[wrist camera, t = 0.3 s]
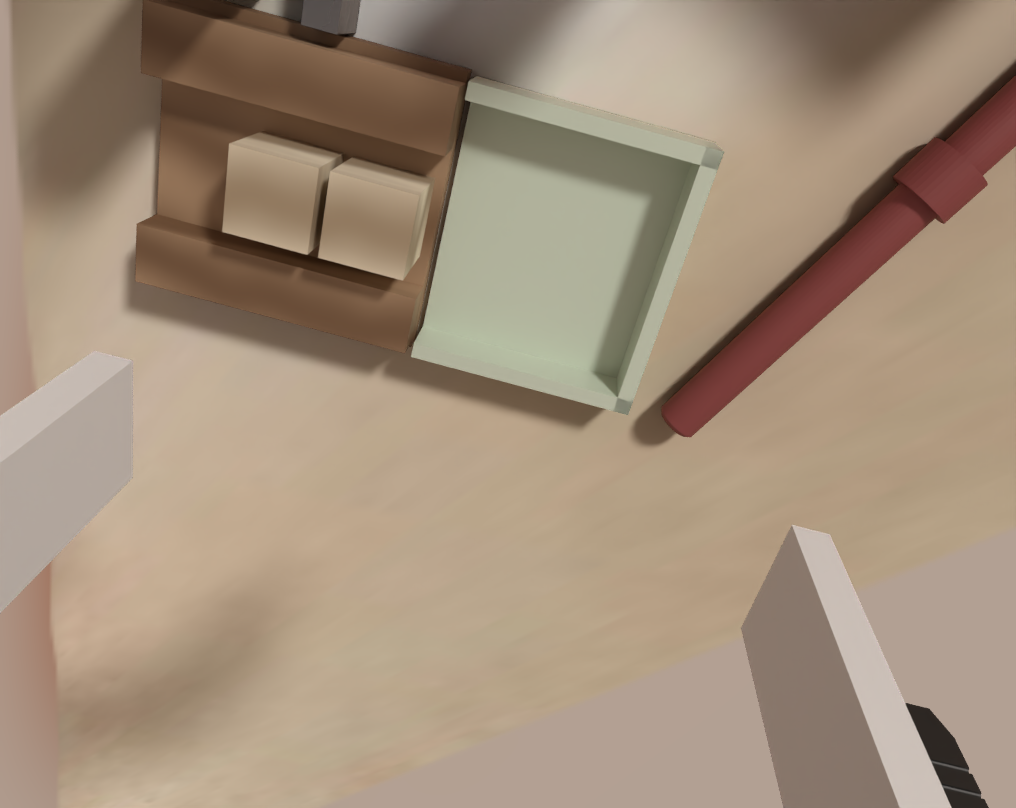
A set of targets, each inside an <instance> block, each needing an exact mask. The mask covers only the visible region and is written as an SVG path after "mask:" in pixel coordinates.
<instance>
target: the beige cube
mask: <svg viewBox="0 0 1016 808" xmlns="http://www.w3.org/2000/svg"><path fill="white" fill-rule="evenodd" d="M344 154H345V153H343V152H339V151H336V150H332V149H328V148H325V147H321V146H317V145H314V144H310V143H306V142H303V141H299V140H295V139H292V138H288V137H284V136H281V135H277V134H274V133H270V132H266V131H261V132H259V133H256V134H253V135H251V136H248V137H245V138H243V139H240V140H237V141H235V142H232V143H229V152H228V165H227V177H226V190H225V203H224V215H223V228H222V232H225V233H228V234H232V235H236V236H239V237H243V238H247V239H250V240H254V241H258V242H262V243H265V244H269V245H273V246H276V247H280V248H284V249H287V250H291V251H295V252H298V253H302V254H306V255H308V254H309V253H310V252H311V251H313V250H314V249H315V248H316V247H317V246H318V245H319V244H320V240H321V233H322V226H323V218H324V211H325V204H326V197H327V190H328V182H329V175H330V171H331V170H333V169H334V168H336V167H338V166H339V165H341V164H342V163H343V161H344Z"/></svg>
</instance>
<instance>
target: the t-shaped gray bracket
mask: <svg viewBox="0 0 1016 808" xmlns="http://www.w3.org/2000/svg"><path fill="white" fill-rule="evenodd" d="M359 7H360V0H304V1H303V10H302V19H301V25H304V26H308V27H311V28H315V29H318V30H322V31H326V32H329V33H333V34H336V35H339V34H349V33H356V28H357V21H358V14H359Z"/></svg>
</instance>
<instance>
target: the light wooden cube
mask: <svg viewBox="0 0 1016 808" xmlns="http://www.w3.org/2000/svg"><path fill="white" fill-rule="evenodd" d="M434 183H435V178H434V177H430V176H427V175H423V174H419V173H416V172H412V171H409V170H405V169H401V168H398V167H394V166H390V165H387V164H383V163H379V162H376V161H372V160H368V159H365V158H361V157H357V156H354V157H352V158H350V159H349V160H347V161H346V162H344V163H342V164H341V165H339V166H338V167H336V168H334V169H333V170H331V171H330V175H329V182H328V190H327V197H326V204H325V211H324V218H323V226H322V233H321V240H320V247H319V254H318V258H321V259H324V260H328V261H332V262H335V263H339V264H343V265H347V266H350V267H354V268H358V269H361V270H365V271H369V272H372V273H376V274H380V275H384V276H387V277H391V278H395V279H398V280H402V281H403V280H404V278H405V277H406V275H407V274H408V272H409V271H410V269H411V268H412V267H413V265H414V264H415V262H416V261H417V259H418V258H419V257H420V252H421V248H422V243H423V238H424V233H425V228H426V223H427V218H428V213H429V208H430V203H431V198H432V193H433V188H434Z"/></svg>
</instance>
